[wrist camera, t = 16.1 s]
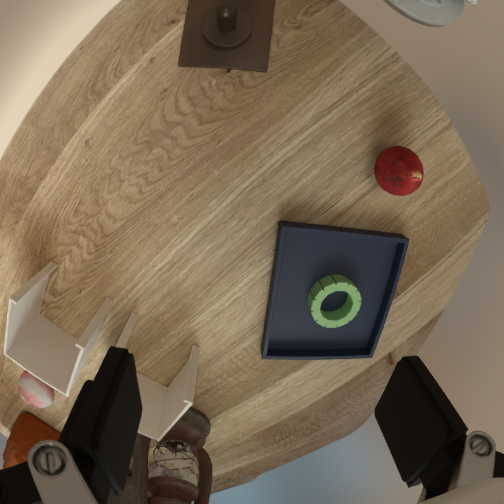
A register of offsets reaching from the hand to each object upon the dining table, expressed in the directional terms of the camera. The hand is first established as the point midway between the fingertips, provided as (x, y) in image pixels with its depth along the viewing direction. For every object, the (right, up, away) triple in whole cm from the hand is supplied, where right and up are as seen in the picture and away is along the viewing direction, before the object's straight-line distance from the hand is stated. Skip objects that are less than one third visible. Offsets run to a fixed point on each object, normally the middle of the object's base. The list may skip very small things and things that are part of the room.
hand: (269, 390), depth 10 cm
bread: (-55, -44, +44) cm, 83 cm away
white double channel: (-22, -7, +32) cm, 39 cm away
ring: (+10, -1, +31) cm, 33 cm away
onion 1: (-40, -19, +35) cm, 57 cm away
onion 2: (+16, +15, +26) cm, 34 cm away
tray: (+10, -1, +31) cm, 33 cm away
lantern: (-14, -27, +40) cm, 50 cm away
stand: (-3, +30, +19) cm, 35 cm away
